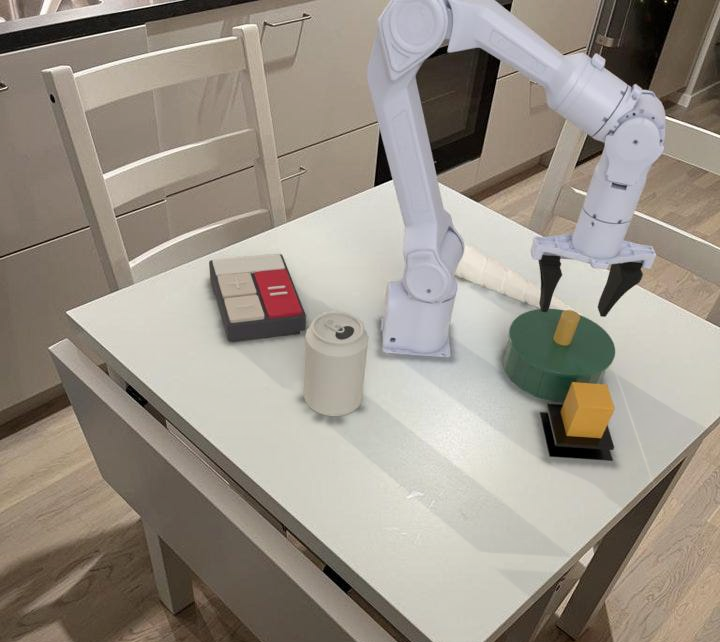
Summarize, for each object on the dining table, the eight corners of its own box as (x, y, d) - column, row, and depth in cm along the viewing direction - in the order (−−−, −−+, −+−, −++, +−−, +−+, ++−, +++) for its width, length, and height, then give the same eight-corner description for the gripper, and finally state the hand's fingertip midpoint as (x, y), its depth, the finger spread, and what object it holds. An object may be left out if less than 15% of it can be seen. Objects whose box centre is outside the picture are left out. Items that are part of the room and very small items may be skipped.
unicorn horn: (585, 341, 107) (595, 314, 104) (448, 278, 116) (453, 251, 112) (598, 326, 110) (609, 299, 106) (463, 266, 118) (468, 239, 115)
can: (341, 429, 91) (347, 353, 82) (292, 404, 93) (293, 328, 84) (372, 397, 96) (381, 321, 87) (324, 374, 98) (329, 298, 89)
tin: (508, 401, 97) (517, 371, 93) (497, 338, 106) (505, 309, 102) (607, 408, 98) (620, 379, 94) (588, 345, 107) (599, 316, 103)
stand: (548, 459, 91) (553, 445, 89) (538, 415, 96) (543, 401, 94) (611, 463, 91) (618, 450, 89) (598, 419, 96) (604, 405, 94)
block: (566, 436, 90) (578, 406, 86) (560, 411, 93) (571, 381, 89) (601, 438, 90) (615, 408, 87) (594, 414, 93) (607, 384, 89)
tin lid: (514, 377, 94) (524, 345, 90) (501, 311, 103) (510, 280, 99) (623, 385, 94) (637, 354, 91) (600, 318, 104) (612, 288, 100)
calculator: (227, 321, 98) (208, 255, 106) (228, 346, 101) (209, 280, 110) (307, 312, 101) (282, 248, 109) (305, 336, 104) (281, 272, 113)
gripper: (550, 224, 81) (521, 324, 91) (678, 234, 82) (634, 333, 92) (541, 192, 86) (513, 291, 96) (662, 203, 87) (622, 300, 97)
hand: (572, 309), depth 94 cm, fingers open, 7 cm apart
